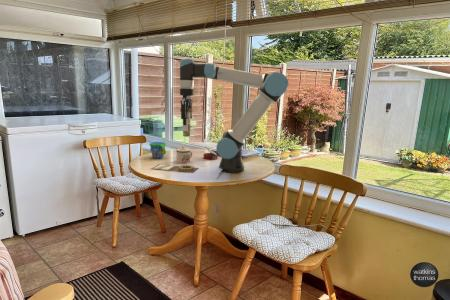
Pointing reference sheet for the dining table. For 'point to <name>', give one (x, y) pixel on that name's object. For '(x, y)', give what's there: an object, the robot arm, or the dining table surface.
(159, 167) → the board
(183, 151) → the teacup with lid
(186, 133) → the carved statue
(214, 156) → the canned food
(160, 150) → the snack cup
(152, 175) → the dining table surface
